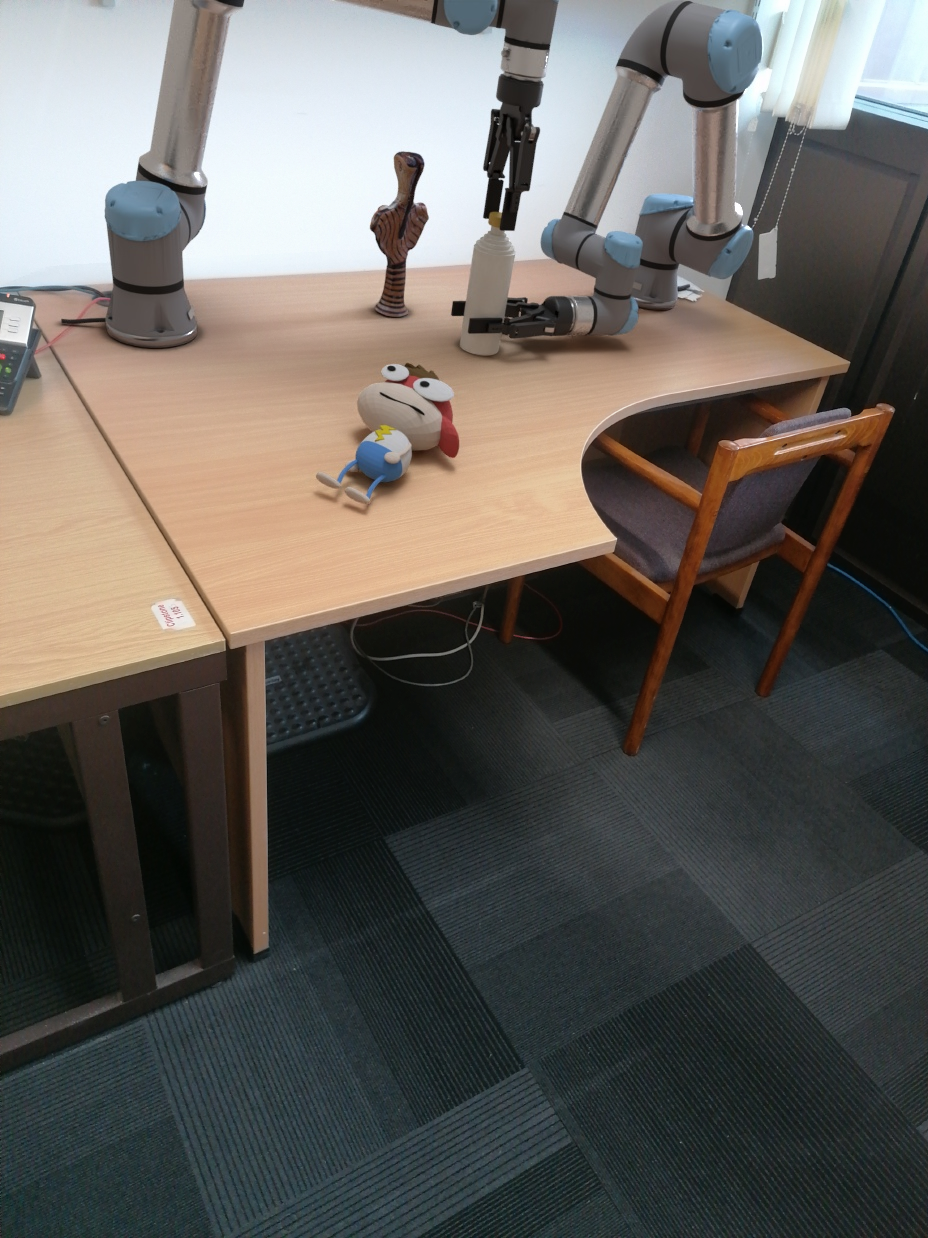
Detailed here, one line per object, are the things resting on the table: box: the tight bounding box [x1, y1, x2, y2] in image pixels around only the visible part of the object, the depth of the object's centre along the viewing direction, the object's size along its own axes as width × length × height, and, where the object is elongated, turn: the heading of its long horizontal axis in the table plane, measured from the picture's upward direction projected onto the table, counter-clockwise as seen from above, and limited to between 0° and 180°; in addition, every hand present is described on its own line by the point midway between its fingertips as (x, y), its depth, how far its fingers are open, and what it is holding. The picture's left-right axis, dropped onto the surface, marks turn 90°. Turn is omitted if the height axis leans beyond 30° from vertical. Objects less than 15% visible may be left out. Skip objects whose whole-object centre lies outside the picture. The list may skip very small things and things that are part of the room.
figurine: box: [369, 150, 430, 318], centre depth 173 cm, size 15×8×30 cm, turn 144°
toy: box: [315, 362, 460, 505], centre depth 132 cm, size 18×10×30 cm
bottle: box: [459, 225, 516, 357], centre depth 166 cm, size 8×8×24 cm
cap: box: [487, 211, 502, 228], centre depth 159 cm, size 4×4×2 cm
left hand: (498, 223), depth 160 cm, fingers open, 6 cm apart
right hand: (461, 316), depth 168 cm, fingers closed on bottle, 8 cm apart
